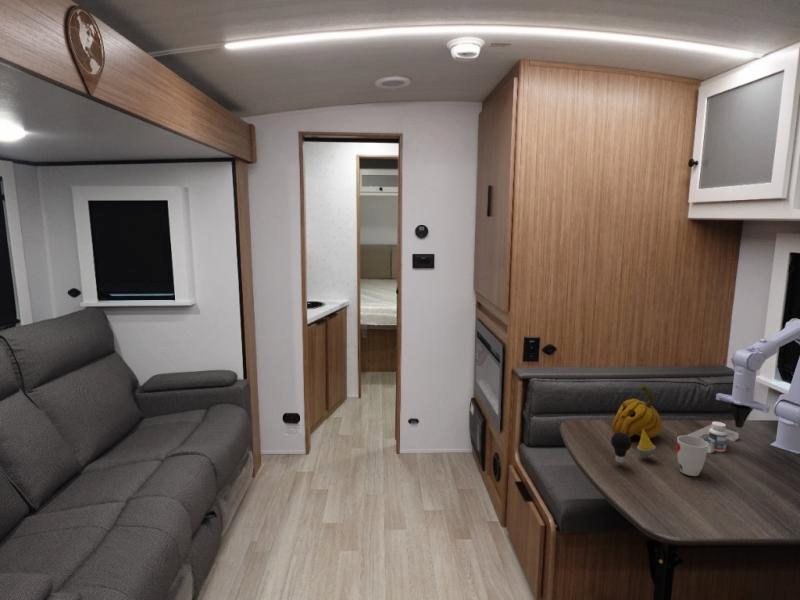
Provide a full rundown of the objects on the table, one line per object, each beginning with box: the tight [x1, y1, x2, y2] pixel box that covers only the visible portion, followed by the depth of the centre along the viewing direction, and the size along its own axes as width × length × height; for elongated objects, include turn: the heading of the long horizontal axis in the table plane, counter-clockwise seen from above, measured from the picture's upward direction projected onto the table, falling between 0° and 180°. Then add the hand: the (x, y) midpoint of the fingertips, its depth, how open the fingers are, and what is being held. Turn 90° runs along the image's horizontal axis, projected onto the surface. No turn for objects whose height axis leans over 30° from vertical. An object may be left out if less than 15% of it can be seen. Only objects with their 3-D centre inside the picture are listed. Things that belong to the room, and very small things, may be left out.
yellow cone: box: [636, 429, 657, 459], centre depth 155 cm, size 5×5×10 cm
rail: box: [685, 423, 740, 454], centre depth 168 cm, size 20×9×2 cm, turn 123°
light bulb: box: [610, 432, 632, 464], centre depth 151 cm, size 6×6×10 cm
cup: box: [676, 435, 708, 477], centre depth 146 cm, size 8×8×10 cm
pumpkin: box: [611, 383, 662, 439], centre depth 171 cm, size 14×16×20 cm
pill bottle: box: [707, 421, 728, 453], centre depth 162 cm, size 5×5×9 cm
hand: (739, 426), depth 157 cm, fingers closed
